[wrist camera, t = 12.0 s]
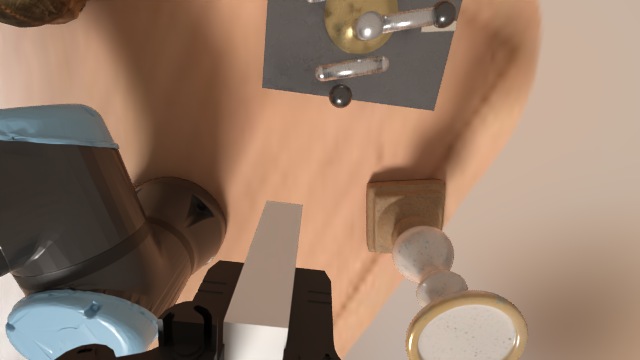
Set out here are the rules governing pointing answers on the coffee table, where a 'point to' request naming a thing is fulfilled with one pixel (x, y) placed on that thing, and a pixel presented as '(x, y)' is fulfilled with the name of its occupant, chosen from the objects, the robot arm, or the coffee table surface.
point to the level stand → (354, 56)
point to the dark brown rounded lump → (39, 12)
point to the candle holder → (438, 278)
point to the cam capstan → (370, 35)
